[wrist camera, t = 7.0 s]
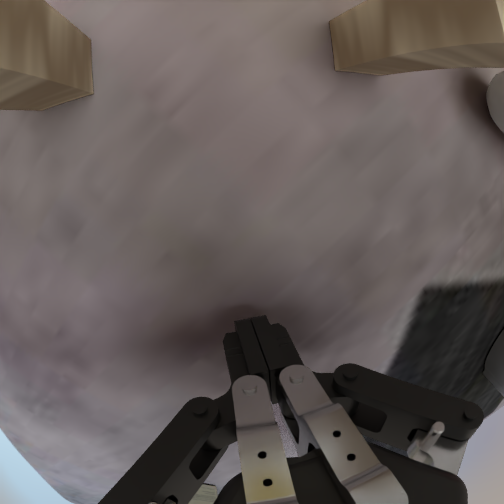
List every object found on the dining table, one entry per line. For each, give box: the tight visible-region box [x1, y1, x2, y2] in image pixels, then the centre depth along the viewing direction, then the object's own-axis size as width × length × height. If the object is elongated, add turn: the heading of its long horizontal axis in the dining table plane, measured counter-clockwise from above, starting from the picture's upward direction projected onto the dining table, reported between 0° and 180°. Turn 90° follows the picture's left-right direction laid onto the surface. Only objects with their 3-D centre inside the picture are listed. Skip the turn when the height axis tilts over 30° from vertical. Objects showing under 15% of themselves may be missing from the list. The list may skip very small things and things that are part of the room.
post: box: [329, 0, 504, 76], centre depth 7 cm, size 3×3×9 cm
